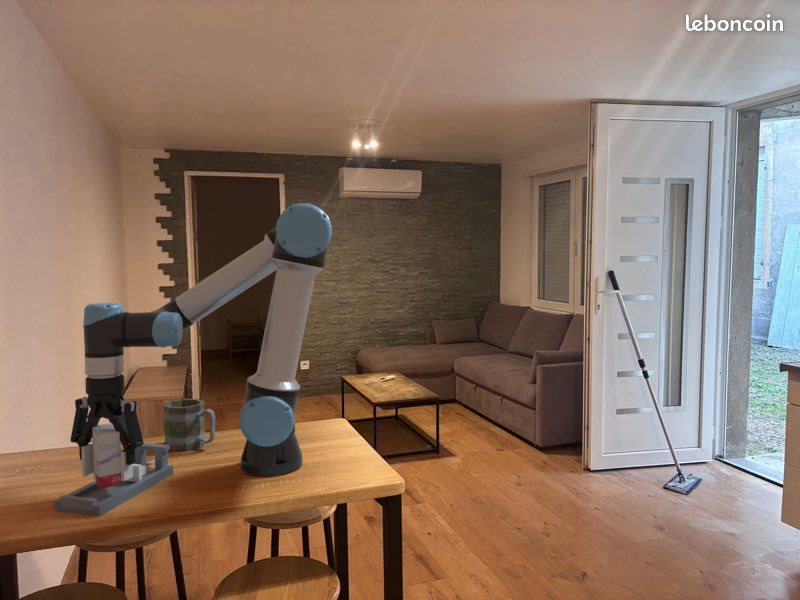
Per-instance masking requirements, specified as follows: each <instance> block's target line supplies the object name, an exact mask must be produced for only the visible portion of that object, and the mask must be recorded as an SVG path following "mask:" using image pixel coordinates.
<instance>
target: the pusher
mask: <svg viewBox="0 0 800 600" xmlns="http://www.w3.org/2000/svg"><path fill="white" fill-rule="evenodd" d="M153 464H155V458H154V459H152V460H150V461H148V462H146V464H144V465H139V464H133V477H132V478H130V479H128V480H126V481H132V482H138V481H139V480H141V479H142V476H143V475H145V474H147V471H146V467H150V466H152V465H153Z"/></svg>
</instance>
